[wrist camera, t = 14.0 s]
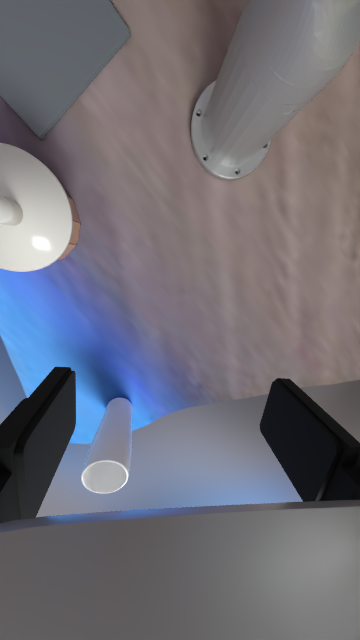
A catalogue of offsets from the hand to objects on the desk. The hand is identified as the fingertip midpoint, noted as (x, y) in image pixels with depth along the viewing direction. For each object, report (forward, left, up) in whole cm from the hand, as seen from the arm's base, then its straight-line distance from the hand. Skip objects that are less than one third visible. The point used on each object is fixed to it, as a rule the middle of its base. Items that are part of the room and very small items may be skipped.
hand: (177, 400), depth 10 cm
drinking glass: (+23, +12, -31) cm, 40 cm away
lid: (+6, -21, -24) cm, 33 cm away
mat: (-12, -36, -30) cm, 49 cm away
